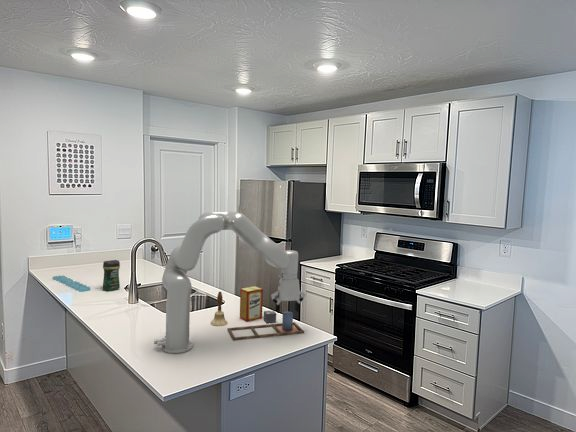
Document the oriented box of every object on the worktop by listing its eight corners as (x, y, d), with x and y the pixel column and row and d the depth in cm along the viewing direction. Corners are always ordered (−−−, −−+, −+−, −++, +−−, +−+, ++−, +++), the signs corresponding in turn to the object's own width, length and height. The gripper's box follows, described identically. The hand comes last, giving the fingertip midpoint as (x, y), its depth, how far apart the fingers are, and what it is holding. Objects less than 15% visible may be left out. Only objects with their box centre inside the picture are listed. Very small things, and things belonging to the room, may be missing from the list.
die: (266, 323, 201) (266, 313, 201) (263, 320, 206) (263, 310, 205) (275, 323, 203) (276, 313, 202) (272, 319, 208) (273, 310, 207)
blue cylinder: (284, 331, 191) (284, 315, 190) (280, 327, 195) (281, 311, 195) (293, 330, 192) (294, 314, 192) (290, 327, 197) (290, 311, 196)
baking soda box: (246, 322, 203) (247, 290, 201) (239, 318, 208) (240, 287, 206) (262, 318, 209) (262, 288, 207) (254, 315, 214) (255, 285, 212)
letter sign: (52, 279, 274) (52, 276, 274) (62, 278, 279) (62, 274, 279) (80, 293, 245) (80, 289, 245) (91, 291, 250) (91, 287, 250)
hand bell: (231, 323, 200) (231, 292, 198) (217, 327, 194) (218, 294, 192) (220, 319, 205) (221, 288, 204) (207, 323, 199) (207, 291, 198)
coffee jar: (106, 292, 247) (106, 262, 245) (100, 289, 252) (100, 260, 251) (121, 289, 254) (122, 260, 253) (115, 287, 259) (115, 258, 258)
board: (233, 340, 178) (233, 338, 178) (227, 330, 190) (227, 328, 190) (304, 333, 190) (304, 331, 190) (294, 324, 202) (294, 322, 202)
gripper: (274, 278, 185) (272, 315, 186) (309, 277, 191) (306, 313, 192) (269, 275, 192) (267, 310, 193) (303, 274, 198) (301, 308, 199)
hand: (287, 311), depth 193 cm, fingers open, 9 cm apart
